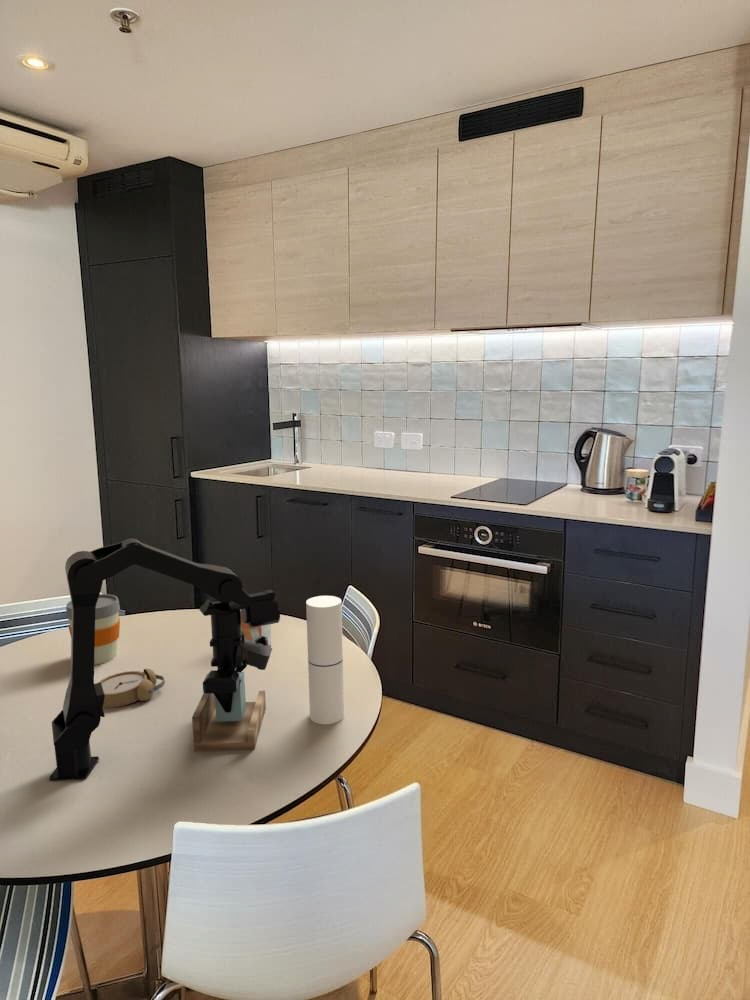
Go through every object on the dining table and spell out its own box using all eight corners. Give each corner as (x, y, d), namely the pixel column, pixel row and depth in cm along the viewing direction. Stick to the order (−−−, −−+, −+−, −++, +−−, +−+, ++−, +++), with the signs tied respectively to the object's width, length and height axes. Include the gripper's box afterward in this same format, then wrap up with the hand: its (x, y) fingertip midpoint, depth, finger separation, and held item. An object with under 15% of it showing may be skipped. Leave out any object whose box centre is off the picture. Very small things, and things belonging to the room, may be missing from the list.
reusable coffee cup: (130, 647, 173) (126, 593, 170) (113, 667, 160) (108, 609, 158) (83, 648, 172) (77, 594, 170) (62, 668, 160) (56, 610, 157)
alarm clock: (98, 676, 150) (164, 659, 152) (104, 695, 151) (169, 678, 153) (87, 698, 139) (158, 680, 141) (93, 719, 140) (164, 700, 142)
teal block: (241, 720, 128) (239, 683, 127) (216, 721, 128) (214, 683, 127) (245, 708, 133) (244, 671, 132) (221, 709, 133) (219, 672, 132)
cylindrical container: (313, 726, 131) (309, 608, 127) (307, 709, 138) (303, 597, 134) (347, 721, 133) (344, 605, 129) (340, 705, 140) (337, 594, 136)
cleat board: (254, 749, 123) (253, 715, 122) (194, 751, 123) (192, 717, 122) (265, 707, 139) (264, 677, 138) (212, 709, 139) (210, 678, 138)
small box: (234, 648, 171) (232, 610, 169) (245, 640, 176) (243, 603, 174) (262, 651, 169) (260, 613, 167) (272, 643, 174) (270, 606, 172)
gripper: (261, 650, 119) (264, 728, 121) (273, 614, 137) (276, 683, 140) (199, 651, 118) (204, 730, 121) (220, 615, 137) (224, 684, 139)
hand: (230, 705), depth 130 cm, fingers closed on teal block, 5 cm apart
